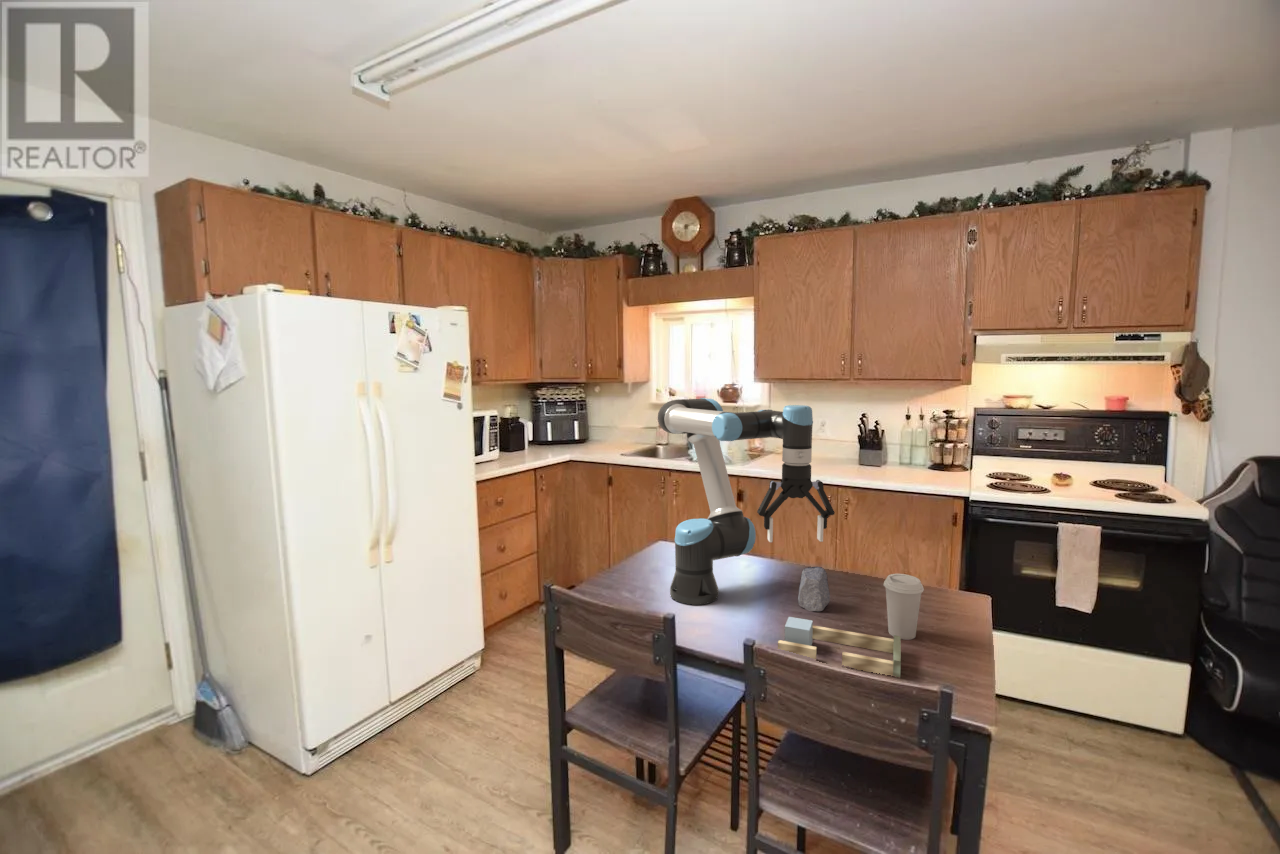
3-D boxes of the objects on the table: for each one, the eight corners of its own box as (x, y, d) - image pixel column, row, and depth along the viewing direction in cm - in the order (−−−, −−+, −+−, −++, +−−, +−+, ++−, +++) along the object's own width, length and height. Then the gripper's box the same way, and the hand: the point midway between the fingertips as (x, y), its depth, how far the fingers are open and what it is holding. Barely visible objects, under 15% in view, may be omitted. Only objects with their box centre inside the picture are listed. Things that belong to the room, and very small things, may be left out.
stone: (804, 601, 173) (836, 597, 168) (799, 620, 165) (832, 616, 160) (791, 567, 172) (823, 562, 167) (785, 584, 163) (819, 579, 158)
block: (784, 649, 141) (784, 626, 140) (788, 638, 146) (788, 616, 146) (809, 653, 138) (809, 630, 138) (812, 642, 144) (812, 620, 143)
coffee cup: (875, 626, 152) (876, 573, 150) (908, 624, 153) (910, 571, 151) (894, 643, 143) (896, 586, 141) (929, 641, 143) (932, 585, 142)
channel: (777, 654, 138) (777, 638, 138) (787, 631, 150) (787, 617, 149) (900, 678, 127) (900, 661, 126) (899, 651, 138) (900, 636, 138)
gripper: (753, 466, 145) (752, 545, 147) (848, 465, 145) (846, 544, 148) (747, 461, 152) (746, 536, 155) (838, 460, 153) (835, 535, 155)
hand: (795, 540), depth 151 cm, fingers open, 13 cm apart
